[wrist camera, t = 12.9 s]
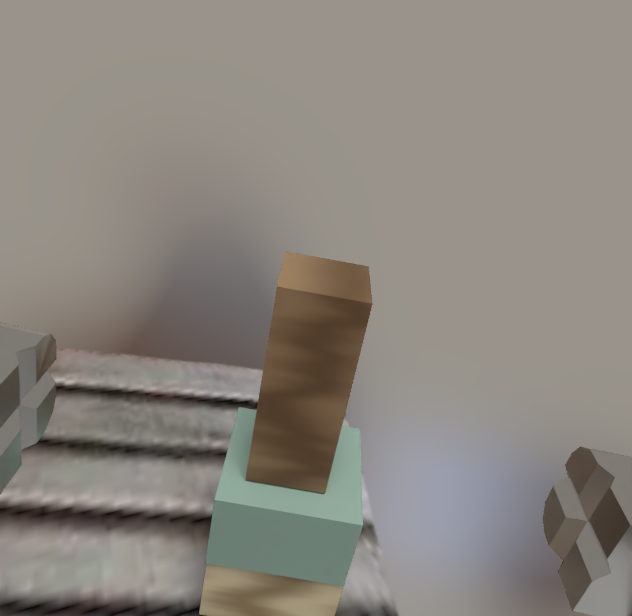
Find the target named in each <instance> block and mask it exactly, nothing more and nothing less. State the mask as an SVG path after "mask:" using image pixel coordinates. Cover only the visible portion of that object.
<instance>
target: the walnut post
mask: <svg viewBox="0 0 632 616" xmlns="http://www.w3.org/2000/svg"><path fill="white" fill-rule="evenodd" d="M371 306H372V295H371V285H370V276H369V267H368V266H363V265H357V264H352V263H346V262H341V261H335V260H330V259H324V258H319V257H313V256H307V255H302V254H297V253H291V252H285V256H284V260H283V264H282V268H281V273H280V277H279V281H278V285H277V291H276V297H275V303H274V310H273V315H272V321H271V327H270V333H269V339H268V346H267V351H266V357H265V364H264V370H263V376H262V382H261V388H260V394H259V400H258V406H257V412H256V418H255V424H254V430H253V436H252V443H251V449H250V455H249V461H248V467H247V473H246V479H245V480H247V481H253V482H259V483H265V484H271V485H277V486H283V487H289V488H295V489H301V490H307V491H314V492H320V493H325V492H326V488H327V484H328V480H329V476H330V472H331V468H332V464H333V460H334V456H335V452H336V448H337V444H338V440H339V436H340V432H341V428H342V424H343V420H344V416H345V412H346V408H347V404H348V399H349V396H350V392H351V388H352V383H353V379H354V375H355V371H356V367H357V363H358V359H359V355H360V351H361V347H362V343H363V339H364V335H365V331H366V327H367V323H368V319H369V315H370V311H371Z"/></svg>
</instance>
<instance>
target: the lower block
mask: <svg viewBox="0 0 632 616" xmlns="http://www.w3.org/2000/svg"><path fill="white" fill-rule="evenodd" d="M344 584H345V583H344ZM343 587H344V586H339V585H333V584H327V583H321V582H315V581H309V580H303V579H297V578H291V577H285V576H279V575H273V574H268V573H262V572H256V571H250V570H244V569H238V568H232V567H226V566H220V565H214V564H208V563H207V564H206V571H205V577H204V584H203V591H202V598H201V604H200V611H199V614H201V615H207V616H334V615H335V612H336V609H337V606H338V603H339V600H340V596H341V593H342V590H343Z"/></svg>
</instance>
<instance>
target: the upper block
mask: <svg viewBox="0 0 632 616" xmlns="http://www.w3.org/2000/svg"><path fill="white" fill-rule="evenodd" d="M256 412H257V410H251V409H246V408H240V407H239V410H238V414H237V417H236V421H235V425H234V429H233V432H232V436H231V440H230V444H229V447H228V451H227V455H226V459H225V462H224V466H223V470H222V474H221V478H220V481H219V485H218V489H217V493H216V496H215V500H214V507H213V514H212V521H211V528H210V534H209V541H208V548H207V555H206V561H205V563H208V564H214V565H220V566H226V567H232V568H238V569H244V570H250V571H256V572H262V573H268V574H273V575H279V576H285V577H291V578H297V579H303V580H309V581H315V582H321V583H327V584H333V585H339V586H344V583H345V580H346V577H347V574H348V570H349V567H350V564H351V561H352V558H353V555H354V552H355V548H356V545H357V542H358V539H359V536H360V533H361V529H362V526H363V515H362V481H361V446H360V429H356V428H351V427H346V426H342V428H341V432H340V436H339V440H338V444H337V448H336V452H335V456H334V460H333V464H332V468H331V472H330V476H329V480H328V484H327V488H326V492H325V493H320V492H314V491H307V490H301V489H295V488H289V487H283V486H277V485H271V484H265V483H259V482H253V481H247V480H245V479H246V473H247V467H248V461H249V455H250V449H251V443H252V436H253V430H254V424H255V418H256Z"/></svg>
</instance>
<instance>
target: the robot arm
mask: <svg viewBox="0 0 632 616" xmlns="http://www.w3.org/2000/svg"><path fill="white" fill-rule="evenodd" d="M55 360H56V340H55V338H54V337H53V336H52V335H51V334H49V333H45V332H40V331H36V330H32V329H28V328H23V327H19V326H15V325H10V324H6V323H2V322H0V494H1V493H2V491H3V490H4V488H5V487H6V486H7V484H8V483H9V481H10V480H11V478H12V477H13V476H14V474H15V473H16V471H17V470H18V469H19V467H20V466H21V450H22V449H25V448H27V447H29V446H31V445H33V444H35V443H37V442H38V440H39V439H40V437H41V436H42V434H43V433H44V431H45V430H46V427H47V425H48V422H49V420H50V417H51V415H52V412H53V408H54V403H55V398H56V382H55V381H54V379H53V378H52V376H51V375H50V374H49V372H48V371H47V370H48V369H49V367H50V366H51V365H52V364H53V362H54V361H55ZM565 467H566V471H567V474H568V478H567V479H565V480H563V481H561V482H560V483H558V484H556V485H554V486H553V488H552V490H551V492H550V493H549V495H548V497H547V500H546V501H545V508H544V515H543V524H544V532H545V535H546V539H547V542H548V545H549V546H550V548H551V549H552V550H553V551H554V552H555V553H556V554H557V555H558V556H559V557H560V558H561V559H562V560H563V562H562V564H561V566H560V568H559V570H558V573H559V575H560V578H561V581H562V584H563V586H564V589H565V592H566V595H567V598H568V600H569V603H570V606H571V608H572V611H574V612H579V613H583V614H587V615H592V616H632V457H629V456H624V455H619V454H614V453H609V452H604V451H599V450H594V449H589V448H584V447H579V448H578V449H577V450H575V451H574V452H573V453H572V454H571V456H570V457H569V459H568V461H567V463H566V464H565Z"/></svg>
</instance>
